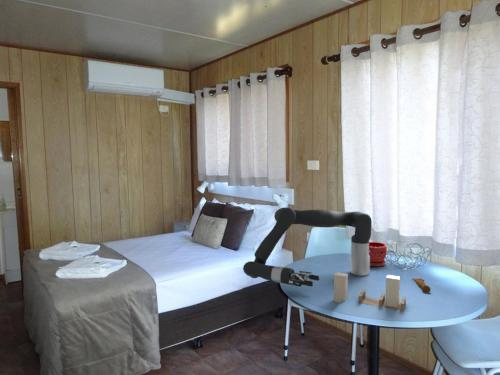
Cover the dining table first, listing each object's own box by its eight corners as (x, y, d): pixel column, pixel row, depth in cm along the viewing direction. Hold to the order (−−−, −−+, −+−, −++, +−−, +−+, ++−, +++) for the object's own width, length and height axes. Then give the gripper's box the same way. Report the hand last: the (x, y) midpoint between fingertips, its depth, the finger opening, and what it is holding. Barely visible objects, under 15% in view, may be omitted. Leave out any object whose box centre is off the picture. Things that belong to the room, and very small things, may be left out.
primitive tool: (411, 279, 185) (411, 272, 185) (422, 280, 184) (422, 273, 184) (422, 293, 166) (422, 286, 166) (435, 294, 165) (435, 286, 165)
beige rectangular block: (336, 298, 160) (336, 272, 159) (347, 300, 157) (347, 273, 156) (333, 301, 156) (334, 274, 155) (345, 303, 154) (345, 276, 153)
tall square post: (386, 302, 152) (387, 274, 151) (399, 304, 150) (400, 276, 149) (385, 305, 149) (386, 277, 148) (398, 308, 146) (399, 279, 145)
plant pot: (369, 259, 219) (370, 240, 218) (390, 264, 210) (390, 244, 209) (358, 264, 211) (358, 244, 210) (379, 269, 201) (379, 248, 200)
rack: (362, 298, 159) (362, 289, 159) (405, 306, 151) (405, 297, 150) (358, 305, 152) (358, 295, 152) (403, 314, 144) (403, 303, 143)
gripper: (276, 271, 163) (310, 277, 155) (288, 263, 175) (321, 268, 168) (276, 287, 164) (310, 294, 156) (288, 278, 176) (320, 284, 168)
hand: (315, 281), depth 162 cm, fingers open, 8 cm apart
